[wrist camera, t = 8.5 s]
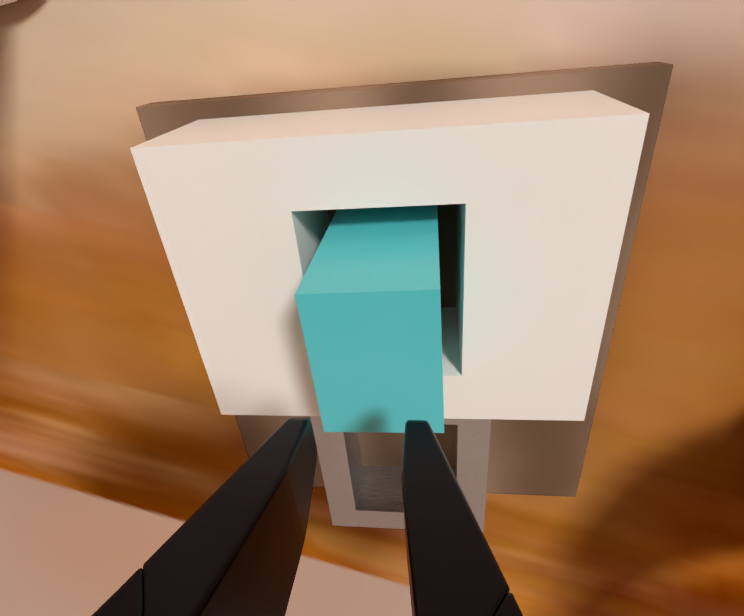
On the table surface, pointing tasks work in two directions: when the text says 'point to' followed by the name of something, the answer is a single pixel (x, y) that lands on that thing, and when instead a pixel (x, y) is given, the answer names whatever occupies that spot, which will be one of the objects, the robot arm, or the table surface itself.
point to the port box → (396, 189)
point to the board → (507, 437)
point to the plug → (375, 320)
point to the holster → (394, 476)
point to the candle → (6, 2)
